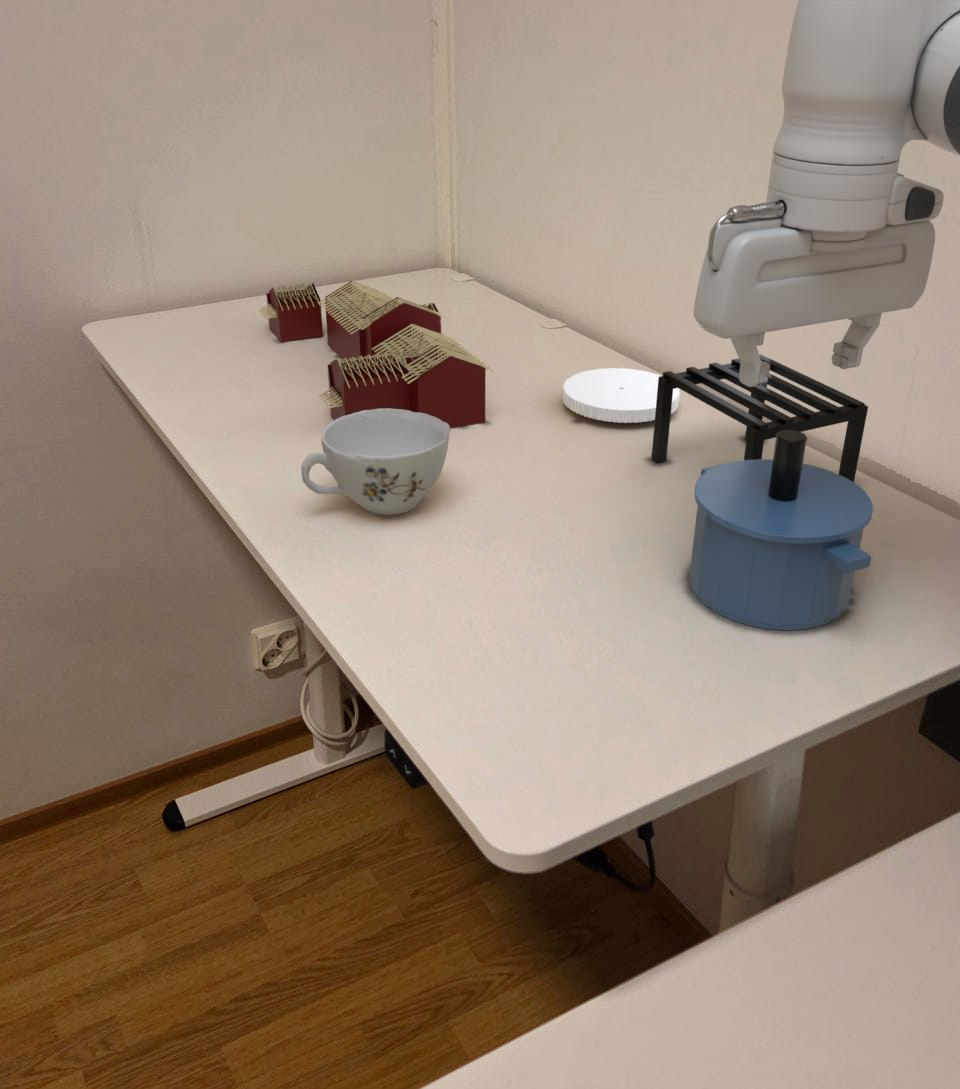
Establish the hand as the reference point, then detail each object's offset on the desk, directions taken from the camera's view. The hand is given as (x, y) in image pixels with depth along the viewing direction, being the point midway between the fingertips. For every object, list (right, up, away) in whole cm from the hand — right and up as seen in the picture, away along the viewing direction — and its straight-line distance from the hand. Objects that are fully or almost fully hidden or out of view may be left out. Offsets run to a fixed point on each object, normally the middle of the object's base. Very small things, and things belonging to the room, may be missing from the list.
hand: (799, 374), depth 88 cm
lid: (0, -10, +6) cm, 11 cm away
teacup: (-36, -10, +23) cm, 44 cm away
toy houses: (-41, +9, +57) cm, 71 cm away
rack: (+3, -6, +30) cm, 30 cm away
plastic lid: (-8, +3, +46) cm, 47 cm away
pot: (0, -17, +10) cm, 20 cm away
